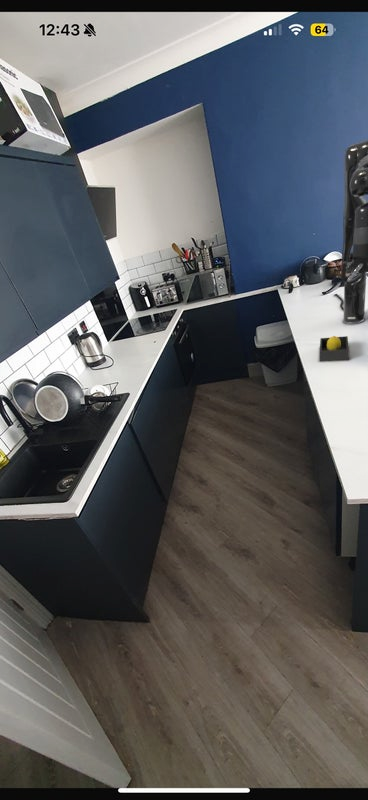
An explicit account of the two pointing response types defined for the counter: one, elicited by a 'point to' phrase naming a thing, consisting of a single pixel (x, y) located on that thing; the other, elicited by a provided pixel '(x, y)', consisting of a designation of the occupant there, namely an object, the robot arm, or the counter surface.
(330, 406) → the counter surface
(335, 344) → the lemon
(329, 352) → the tote
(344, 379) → the counter surface
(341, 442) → the counter surface
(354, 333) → the counter surface
